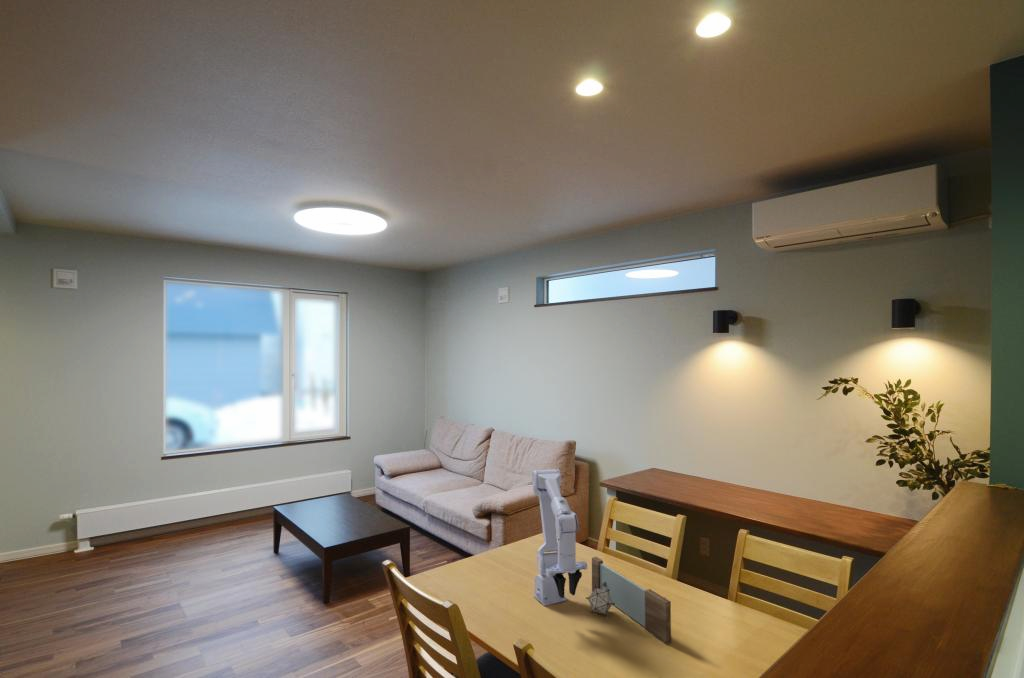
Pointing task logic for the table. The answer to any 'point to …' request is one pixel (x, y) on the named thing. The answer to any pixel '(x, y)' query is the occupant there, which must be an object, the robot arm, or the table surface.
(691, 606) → the table surface
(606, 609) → the game die
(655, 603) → the wall frame
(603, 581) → the door
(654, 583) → the table surface
